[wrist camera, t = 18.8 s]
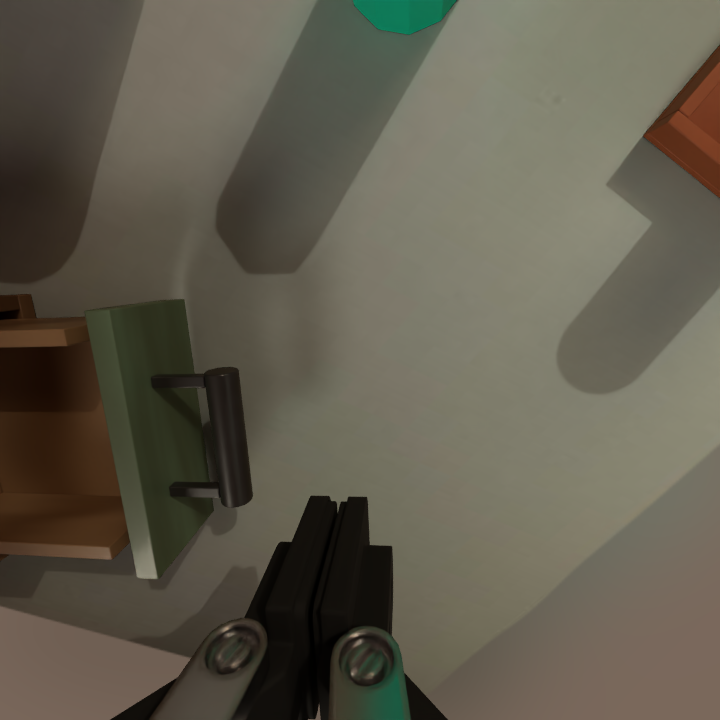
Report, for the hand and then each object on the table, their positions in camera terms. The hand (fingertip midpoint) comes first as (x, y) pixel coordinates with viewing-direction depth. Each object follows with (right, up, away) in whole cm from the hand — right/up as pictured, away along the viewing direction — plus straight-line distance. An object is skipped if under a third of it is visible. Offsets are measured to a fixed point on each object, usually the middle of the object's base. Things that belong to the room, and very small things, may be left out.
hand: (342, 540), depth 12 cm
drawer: (-14, +2, +13) cm, 20 cm away
